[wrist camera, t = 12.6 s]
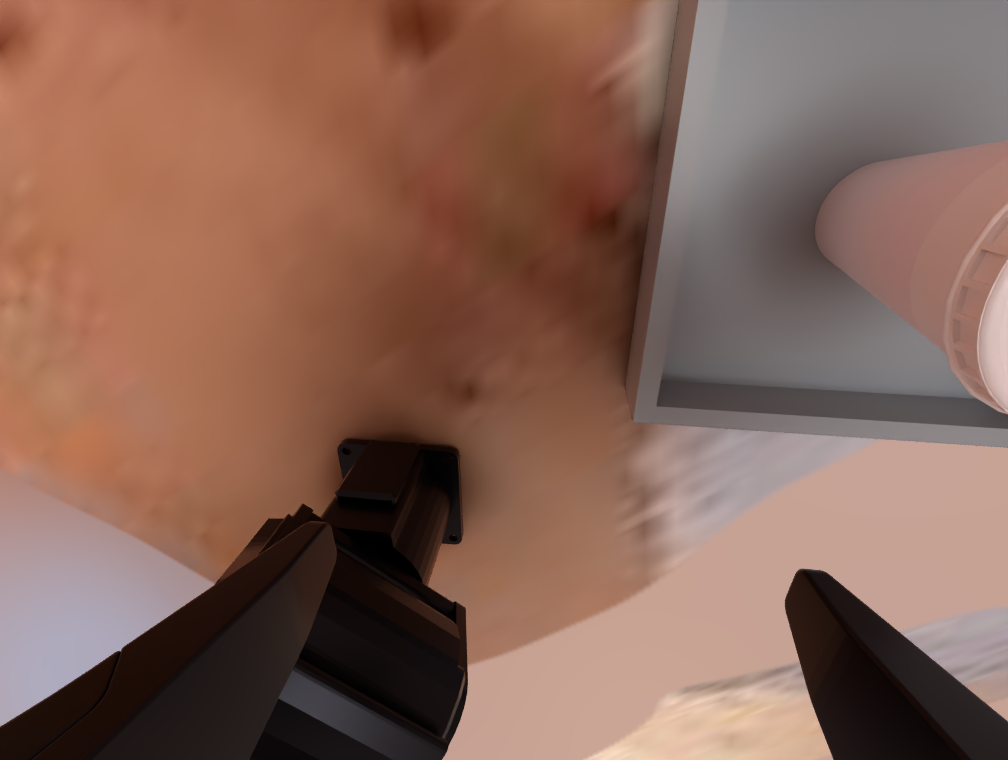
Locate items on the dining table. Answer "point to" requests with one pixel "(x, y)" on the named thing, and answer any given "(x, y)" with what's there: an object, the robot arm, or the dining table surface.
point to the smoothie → (933, 252)
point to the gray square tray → (802, 215)
